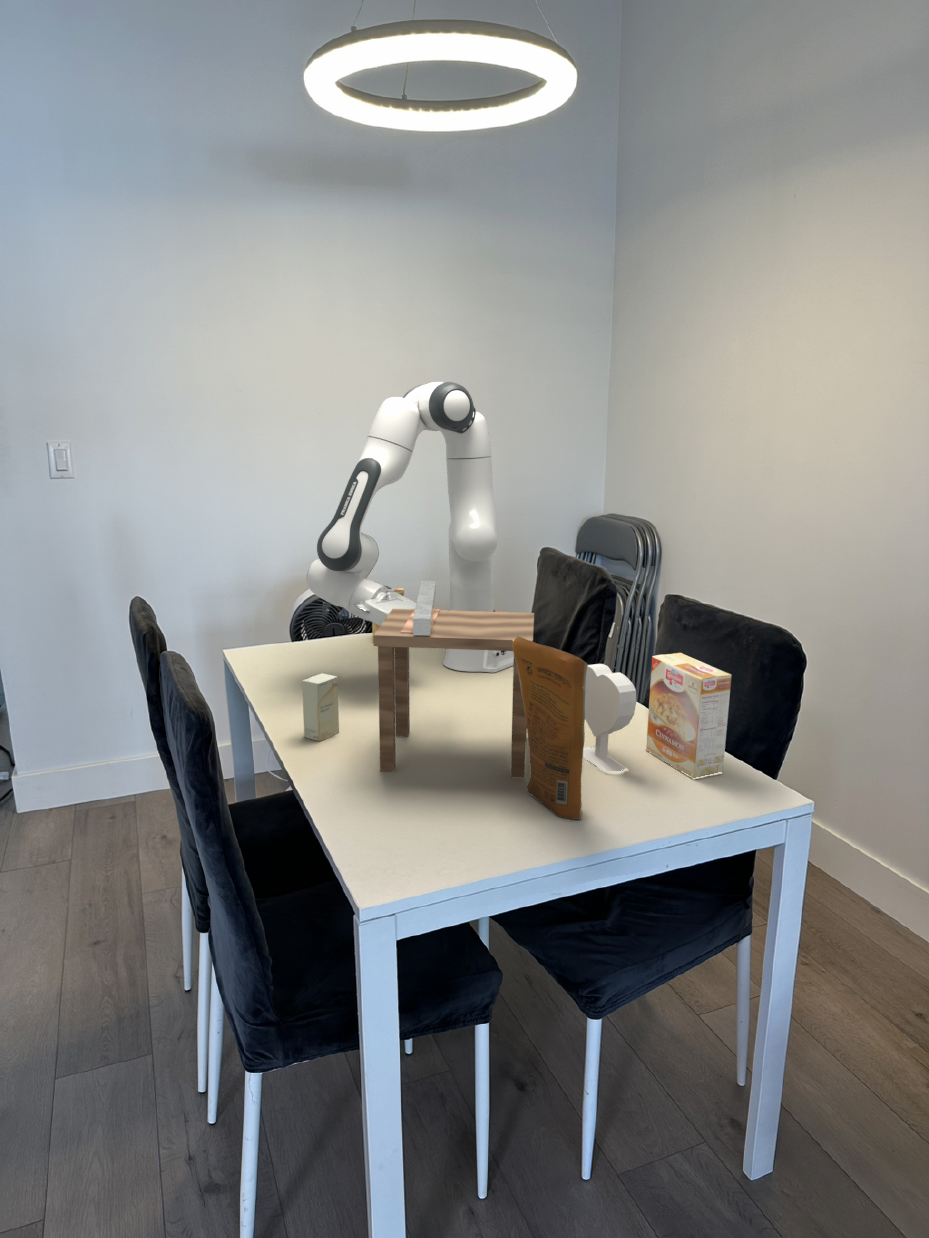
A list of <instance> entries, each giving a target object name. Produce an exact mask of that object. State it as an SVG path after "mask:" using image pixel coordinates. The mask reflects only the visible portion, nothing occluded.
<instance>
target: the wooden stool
mask: <svg viewBox="0 0 929 1238" xmlns="http://www.w3.org/2000/svg"><path fill="white" fill-rule="evenodd" d="M414 613H415V609H392V610H391V612H390V613H389V615H388V616H387V617H386V619H385V620H384V621H383V623H382V624H381V626H380V627H379V628H378V630H377V631H376V632H375V634H374V635H373V634H372V644H373V647H377V658H378V659H377V662H378V663H377V664H378V667H377V668H378V669H377V671H378V718H379V719H378V723H379V724H378V725H379V727H378V728H379V729H378V730H379V731H378V732H379V737H378V738H379V771H380V772H385V773H394V772H395V770H396V766H397V761H396V760H397V757H396V756H397V754H396V753H397V751H396V745H397V743H396V737H400V738H403V737H405V738H408V737H409V736H410V732H411V731H410V725H411V724H410V722H411V721H410V709H411V708H410V648H411V649H414V648H415V649H417V648H418V649H441V650H443V649H445V650H447V649H467V650H496V651H513V648H512V641H513V640H515V639H516V637H517V636H519V637H522V638H524V639H527V640H529V641H532V642H534V626H535V625H534V624H535V612H513V611H511V612H509V611H501V612H497V611H495V612H484V611H452V610H450V609H449V610H447V609H446V610H445V609H440V608H434V611H433V619H432V627H431V634H430V635H413V617H414ZM512 672H513V673H512V674H513V675H512V705H511V706H512V709H511V710H512V711H511V715H512V716H511V745H510V746H511V747H510V748H511V749H510V751H511V752H510V753H511V755H510V778H511V779H512V778H513V779H525V776H526V743H527V741H528V734H527V725H526V718H525V711H524V704H523V698H522V694H521V688H520V681H519V675H518V669H517V665H516V661H515V658H514V664H513V671H512Z"/></svg>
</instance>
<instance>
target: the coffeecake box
mask: <svg viewBox="0 0 929 1238" xmlns="http://www.w3.org/2000/svg"><path fill="white" fill-rule="evenodd" d="M651 657H652V658H651V669H650V670H651V673H650V683H649V684H650V685H649V702H648V712H647V713H648V714H647V715H648V716H647V728H646V729H647V731H646V732H647V733H646V745H645V747H646V748H645V751H646V750H647V751H646V752H648V751H649V752H651V753H652V754H654V755H655V756H654V755H653V756H654V757H656V756H657V757H658V758H657V757H656V758H657V759H659V758H660V759H661V760H660V759H659V760H660V761H662V760H663V761H662V762H664V761H666V762H667V763H669V764H670V765H672V766H673V767H675V768H677V769H678V770H680V771H683V772H684V773H686V774H688V775H689V776H691V777H692V778H696V777H701V776H705V775H710V774H714V773H718V772H722V771H723V772H724V762H725V749H726V741H727V729H728V727H727V726H728V720H729V719H728V718H729V708H730V695H731V684H732V676H733V675H732V674H731V673H729V672H726V671H724V670H721V669H719V668H717V667H714V666H712V665H710V664H707V663H705V662H703V661H701V660H698V659H696V658H693V657H691V656H689V655H686V654H684V653H682V652H676V653H675V652H674V653H667V654H657V655H652V656H651ZM649 752H648V753H649ZM651 753H650V754H651ZM652 754H651V755H652ZM667 763H666V764H667ZM669 764H668V765H669ZM670 765H669V766H670ZM672 766H671V767H672ZM673 767H672V768H673ZM675 768H674V769H675ZM677 769H676V770H677ZM678 770H677V771H678ZM680 771H679V772H680Z"/></svg>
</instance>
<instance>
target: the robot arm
mask: <svg viewBox="0 0 929 1238" xmlns="http://www.w3.org/2000/svg"><path fill="white" fill-rule="evenodd" d="M476 410H477V409H476V407H475V406H474V402H473V398H472V396H471V394H470V393H469V390H467V388H465V387H464V386H463V385H461V384H459V383H457V382H453V381H446V382H445V381H434V382H433V381H432V382H429V383H427V384H418V385H416V386H414V387H412V388H410V389H409V390H408V391H407V392H405V394H404V395H403V396H402V397H401V396H393V397H388V398H386V399H385V400H384V401H383V402H382V403H381V405H380V407H379V409H378V410H377V412H376V414H375V416H374V418H373V421H372V423H371V425H370V428H369V431H368V433H367V436H366V439H365V443H364V446H363V448H362V451H361V454H360V456H359V459H358V461H357V464H356V465H355V467H354V469H353V470H352V472H351V475H350V477H349V479H348V481H347V483H346V487H345V489H344V491H343V495H342V496H341V499H340V501H339V504H338V506H337V508H336V510H335V513H334V516H333V518H332V519H331V521H330V522H329V524H328V525H327V526H326V527H325V528H324V529H323V531H322V532H321V534H320V535H319V537H318V539H317V543H316V553H317V557H318V558H317V559H314V561H312V562H311V564H310V566H309V568H308V569H307V574H306V582H307V583H306V584H307V587H308V589H309V590H310V591H311V592H312V593H313V594H314V595H316V596H317V597H319V598H320V599H322V600H324V601H325V602H327V603H329V604H331V605H333V606H337V607H340V608H343V609H345V610H346V611H347V612H349V613H350V614H352V615H355V616H356V617H358V618H359V619H362V620H365V621H367V622H371V623H372V622H373V623H375V624H377V625H379V626H381V624H382V623H383V621H384V620H385V619H386V617H387V616H388V615H389V613H390V612H391V610H392V609H415V608H416V604H417V602H415V601H413V600H412V599H410V598H408V597H406V596H405V595H404V596H402V595H400V594H398V593H396V592H394V589H393V588H394V587H390V586H389V585H383V584H380V583H378V582H376V581H373V580H371V579H369V578H368V576H369V575H370V574H371V572H372V570H373V569H374V568H375V566H376V564H377V561H378V559H379V553H380V551H379V547H378V543H377V542H376V540H375V539H374V537H372V536H370V535H368V534H366V533H364V532H361V530H362V526H363V523H364V521H365V518H366V516H367V513H368V510H369V508H370V505H371V504H372V501H373V499H374V497H375V495H376V494H377V493H378V491H380V490H381V489H383V488H384V487H386V486H388V485H391V484H394V483H396V482H397V481H400V480H401V479H402V478H403V476H404V474H406V470H407V469H408V467H409V464H410V463H411V460H412V456H413V453H414V449H415V445H416V442H417V440H418V438H419V436H420V434H421V433H422V432H423V431H431V432H438V431H440V432H441V434H442V436H443V439H444V441H445V455H446V456H445V460H446V475H447V477H446V478H447V494H448V503H449V512H450V523H449V527H448V557H449V558H448V560H449V562H448V563H449V564H448V565H449V579H450V580H449V593H450V594H449V610H452V611H484V612H502V611H501V610H497V611H496V610H494V591H495V590H494V585H495V580H494V572H493V571H494V569H493V554H494V553H495V551H496V549H497V545H498V539H499V538H498V527H497V526H498V524H497V515H496V504H495V498H494V486H493V464H492V463H493V462H492V461H493V460H492V448H491V447H492V445H491V438H490V432H489V428H488V427H489V426H488V423H487V420H486V418H485V416H484V415H483V414H482V413H480V412H479V411H476ZM513 664H514V654H513V651H496V650H467V649H446V651H445V655H444V660H443V666H445V667H446V668H449V669H451V670H455V671H461V672H476V673H477V672H480V673H481V672H483V673H497V672H500V671H502V670H504V669H507V668H510V667H512V666H513Z"/></svg>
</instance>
